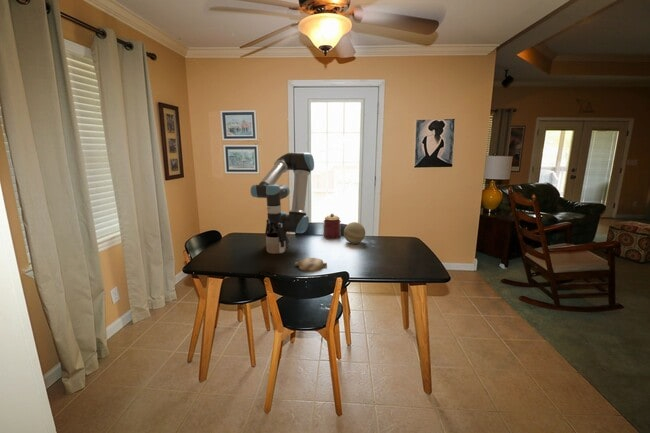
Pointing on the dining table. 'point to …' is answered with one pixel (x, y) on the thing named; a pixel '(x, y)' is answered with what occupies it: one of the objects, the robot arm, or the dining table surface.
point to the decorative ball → (354, 232)
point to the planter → (273, 243)
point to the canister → (332, 226)
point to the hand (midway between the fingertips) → (276, 249)
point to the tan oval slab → (310, 264)
